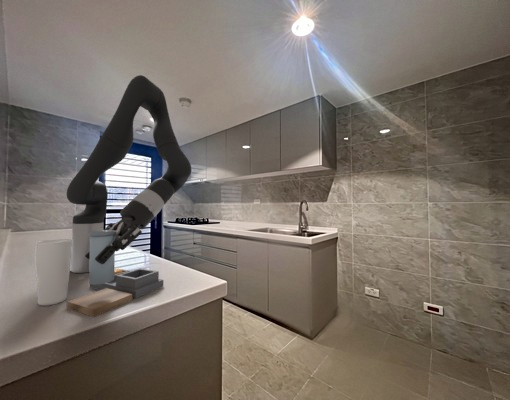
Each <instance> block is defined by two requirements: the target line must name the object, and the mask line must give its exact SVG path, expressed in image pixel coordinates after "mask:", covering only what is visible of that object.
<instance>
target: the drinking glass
mask: <svg viewBox="0 0 510 400" xmlns="http://www.w3.org/2000/svg"><path fill="white" fill-rule="evenodd" d="M34 249H35V250H34V264H35V265H34V268H35V275H36V290H37V291H36V292H37V305H39V306H43V307H44V306H45V307H46V306H52V305H57V304H60V303H62V302H64V301H65V300H66V299H67V298H68V287H69V279H70V274H71V273H70V272H71V259H72V238H71V239H70V238H56V239H45V240H40V241H36V242H35V248H34Z"/></svg>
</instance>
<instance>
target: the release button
mask: <svg viewBox="0 0 510 400" xmlns="http://www.w3.org/2000/svg"><path fill="white" fill-rule="evenodd" d="M119 273H122V269H121V268H114V275H115V274H119Z"/></svg>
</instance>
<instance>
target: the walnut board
mask: <svg viewBox="0 0 510 400" xmlns="http://www.w3.org/2000/svg"><path fill="white" fill-rule="evenodd" d="M131 301H133V298H132V294H130V293H126V292H121V291H117V290H113V289H109V288H105V289H102V290H99V289H98V290H96V291H94V292H91V293H89V294H85V295H82V296H79V297H76V298H74V299H70V300H67V301H66V309H68V310H72V311H75V312H78V313H81V314H84V315H87V316H91V317H92V318H95V317H96V316H99V315H101V314H104V313H106V312H108V311H110V310H112V309H115V308H117V307H120V306H122V305H124V304H126V303H129V302H131Z"/></svg>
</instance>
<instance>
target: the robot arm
mask: <svg viewBox="0 0 510 400" xmlns="http://www.w3.org/2000/svg"><path fill="white" fill-rule="evenodd" d="M140 108H143V109H144V110H146V111H147V112H148V113H149V114H150V116H151V118H152V120H153V122H154V127H153V131H152V135H153V136H152V137H153V141H154V144H155V146H156V150H157V152H158V155H159V157H160V158H161V159H162V160H164V161H166V163H167V170H166V171H165V173H164V174H163V175H162V176H160V178H156V179H154V180H153V181H152V182H151V183H149V184H148V186H147V187H146V188H145V189H143V190H142V191H141V192H140V193H138V194H137V195H136V196H135V197H134V198H133V199H132V200H130V202H128V203H127V204H126V205H125V206H124V207H123V208H122V209H121V210H120V212H119V214H120V216H121V219H119V221H117V222H115V223H114V224H113V223H112V222H111V223H109V224H108V225H107V226H106V227H105V228H104V226H105V225H104V219H105V217H106V214H107V207H108V206H107V205H108V189H107V186H106V184H105V183H103V182H102V181H99V178H100V177H101V176H102V175H103V174H104V173H106V172H107V171H108V170H110V169H112V168H113V167H114V166H116V165H118V164H119V163H120V162H122V161H123V160H124V158H126V156H127V155H128V153H129V152H130V149H131V148H132V146H133V143H134V121H135V117H136V115H137V113H138V111H139V109H140ZM191 165H192V164H191V163H190V160H189V159H188V156H186V155H185V153H184V152H183V150H182V149H181V147H180V145H179V142H178V139H177V137H176V134H175V133H174V129H173V126H172V123H171V119H170V115H169V110H168V105H167V100H166V97H165V93H164V92H163V91H162V89H161V88H160V87H159V86H157V85H156V84H155V83H154V82H152V81H151V80H150V79H149V78H148V77H146V76H144V75H141V74H139V75H136V76H134V77H133V78H131V80H130V81H129V82H128V84H127V86H126V89H125V90H124V92H123V95H122V98H121V99H120V102H119V105H118V106H117V108H116V111H115V112H114V115H113V116H112V118H111V120H110V122H109V123H108V125H107V127H106V128H105V130H104V132H102V134H101V136H100V138H99V139H98V141H97V142H96V145H95V146H94V148H93V150H92V152H91V153H90V155H89V157H88V158H87V159H86V161H85V163H84V164H83V165H82V167H81V168H80V170H78V172H77V173H76V175H74V177H73V178H72V180H70V183H69V184H68V186H67V189H66V198H67V200H68V202H70V203H71V204H74V205H79V206H85V208H84V210H82V211H81V212H80V213H77V214H74V215H73V217H72V227H71V228H72V231H71V232H72V233H71V236H72V237H71V240H72V259H71V266H70V272H71V273H73V274H75V273H76V274H81V273H84V274H85V273H89V258H90V236H89V232H91V231H99V230H115V233H114V235H113V239H112V240H111V242H110V243H109V244H108V246H106V247H105V248H104V249H103V250H102V251H101V252H100V253H99V255H98V256H97V257H96V258H95V260H96V261H97V262H98V263H100V264H104V263H105V262H106V261H107V260H108V259H109V258H110V257H111V256H112V255H113V254H114V253H116V252H119V251H120V250H122V251H124V250H125V249H126V248H128V246H130V245H131V244H132V243H133V242H134V241H135V240H137V238H138V237H139V236H140V235H142V233H143V231H142V230H144V229H145V228H146V227H147V226H148V225H149V224H150V223H151V222H153V220H154V218H156V216H157V215H158V214H159V213H160V212H161V211H162V209H163V207H164V206H165V205H166V204H167V203H168V201H169V200H170V199H171V198H172V196H173V195H175V194H176V193H177V192H178V191H179V190H181V188H182V187H183V186H184V185H185V184H186V182H187V181H188V180H189V177H190V175H191V173H192V166H191Z"/></svg>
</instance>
